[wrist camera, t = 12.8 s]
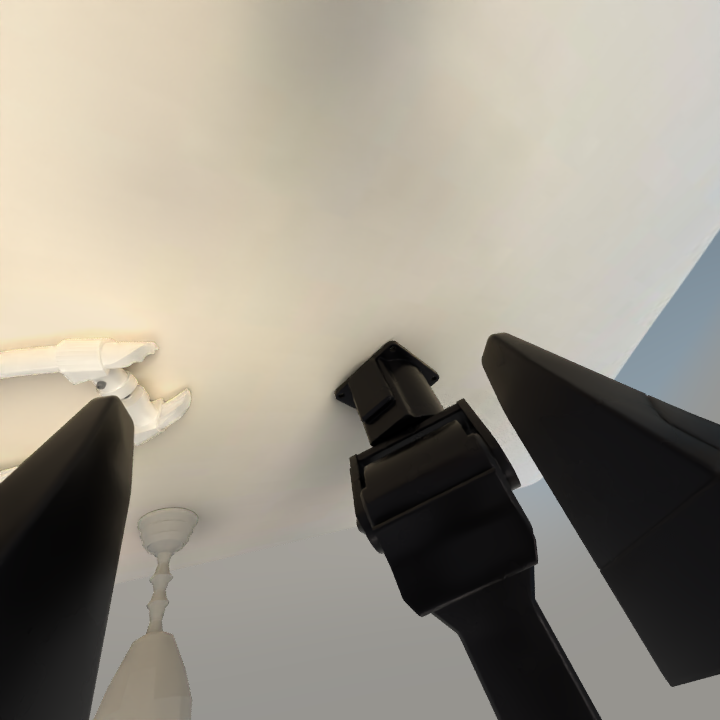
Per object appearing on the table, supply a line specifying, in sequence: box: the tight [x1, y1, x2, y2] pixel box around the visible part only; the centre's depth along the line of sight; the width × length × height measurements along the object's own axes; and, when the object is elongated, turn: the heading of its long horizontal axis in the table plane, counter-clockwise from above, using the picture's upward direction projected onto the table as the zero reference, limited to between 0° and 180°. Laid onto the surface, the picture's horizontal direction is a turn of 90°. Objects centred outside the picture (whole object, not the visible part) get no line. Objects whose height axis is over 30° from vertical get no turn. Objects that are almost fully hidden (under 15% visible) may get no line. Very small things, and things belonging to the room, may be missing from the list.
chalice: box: [93, 508, 198, 720], centre depth 27 cm, size 7×7×18 cm
